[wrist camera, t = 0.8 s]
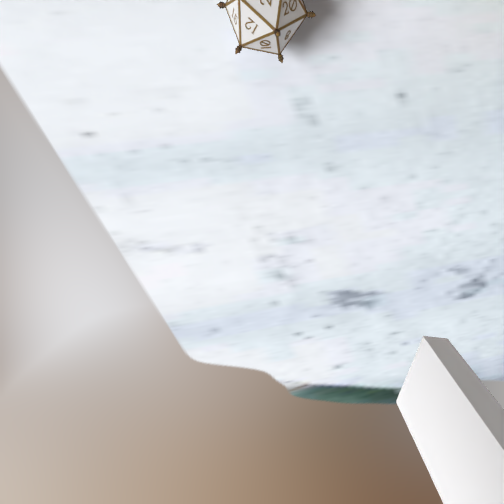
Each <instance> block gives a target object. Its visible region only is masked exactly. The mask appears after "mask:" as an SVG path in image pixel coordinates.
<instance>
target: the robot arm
mask: <svg viewBox="0 0 504 504" xmlns="http://www.w3.org/2000/svg"><path fill="white" fill-rule="evenodd" d="M396 402H397V405H398V407H399V409H400V411H401V413H402V415H403V418H404V420H405V422H406V424H407V426H408V428H409V430H410V432H411V435H412V437H413V439H414V441H415V443H416V445H417V448H418V450H419V452H420V454H421V456H422V458H423V460H424V462H425V465H426V467H427V469H428V471H429V473H430V475H431V477H432V480H433V482H434V484H435V486H436V488H437V490H438V492H439V495H440V497H441V499H442V501H443V503H444V504H504V409H503V408H502V406H501V405H500V404H499V403H498V401H497V400H496V399H495V398H494V396H493V395H492V394H491V393H490V391H489V390H488V389H487V388H486V387H485V385H484V384H483V383H482V381H481V380H480V379H479V378H478V376H477V375H476V374H475V373H474V371H473V370H472V369H471V368H470V366H469V365H468V364H467V363H466V361H465V360H464V359H463V358H462V356H461V355H460V354H459V353H458V351H457V350H456V349H455V348H454V346H453V345H452V344H451V343H450V341H449V340H448V339H446V338H437V337H428V336H423V337H422V340H421V342H420V345H419V347H418V350H417V352H416V355H415V357H414V359H413V362H412V364H411V367H410V369H409V372H408V374H407V376H406V379H405V381H404V384H403V386H402V389H401V391H400V394H399V396H398V398H397V401H396Z"/></svg>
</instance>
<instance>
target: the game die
mask: <svg viewBox="0 0 504 504" xmlns="http://www.w3.org/2000/svg"><path fill="white" fill-rule="evenodd" d="M217 5H218V6H219V7H220V9H221V8H226V10H227V13H228V15H229V18H230V21H231V23H232V26H233V29H234V31H235V34H236V37H237V39H238V42H239V46H237V48H235V49H236V52H235V54H237V53H240V51H241V49H242V47H243V48H248V49H252V50H257V51H262V52H267V53H272V54H277V55H278V58H279V61H280V62H281V63H283V55H281V52H282V51H283V50H284V48H285V47H286V45H287V44H288V42H289V41H290V39H291V38H292V37H293V35H294V34H295V32H296V31H297V29H298V28H299V26H300V25H301V23H302V22H303V21H304V19H305V18H306V16H308V17H309V18H310V17H311V18H312V17H314V16H316V14H315V13H314V12H313V11H312V12H311V11H310V12H307V10H306V8H305V5H304V2H303V0H227V2H226V3H224V2H220V3H218V4H217Z"/></svg>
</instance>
